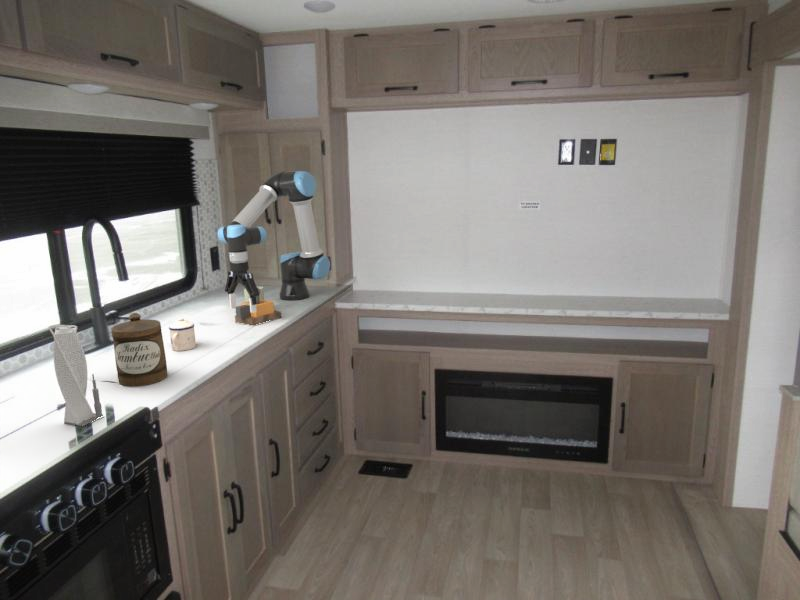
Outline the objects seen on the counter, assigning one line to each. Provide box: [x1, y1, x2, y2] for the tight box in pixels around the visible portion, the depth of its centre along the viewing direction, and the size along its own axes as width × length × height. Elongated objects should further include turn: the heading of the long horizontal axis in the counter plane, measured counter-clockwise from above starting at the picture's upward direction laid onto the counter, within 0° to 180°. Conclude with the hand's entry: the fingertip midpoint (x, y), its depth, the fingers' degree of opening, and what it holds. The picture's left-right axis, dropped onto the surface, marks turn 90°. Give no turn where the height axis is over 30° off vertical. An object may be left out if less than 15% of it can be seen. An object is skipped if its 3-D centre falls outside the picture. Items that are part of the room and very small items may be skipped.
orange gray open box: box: [235, 299, 275, 319], centre depth 260 cm, size 16×10×5 cm, turn 143°
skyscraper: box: [47, 324, 104, 428], centre depth 159 cm, size 8×8×28 cm
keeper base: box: [234, 288, 282, 326], centre depth 262 cm, size 16×12×15 cm
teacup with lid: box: [168, 317, 197, 352], centre depth 223 cm, size 12×9×12 cm
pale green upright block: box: [243, 285, 265, 303], centre depth 277 cm, size 9×9×12 cm
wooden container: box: [110, 312, 168, 387], centre depth 191 cm, size 15×15×22 cm
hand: (243, 310), depth 256 cm, fingers open, 13 cm apart
